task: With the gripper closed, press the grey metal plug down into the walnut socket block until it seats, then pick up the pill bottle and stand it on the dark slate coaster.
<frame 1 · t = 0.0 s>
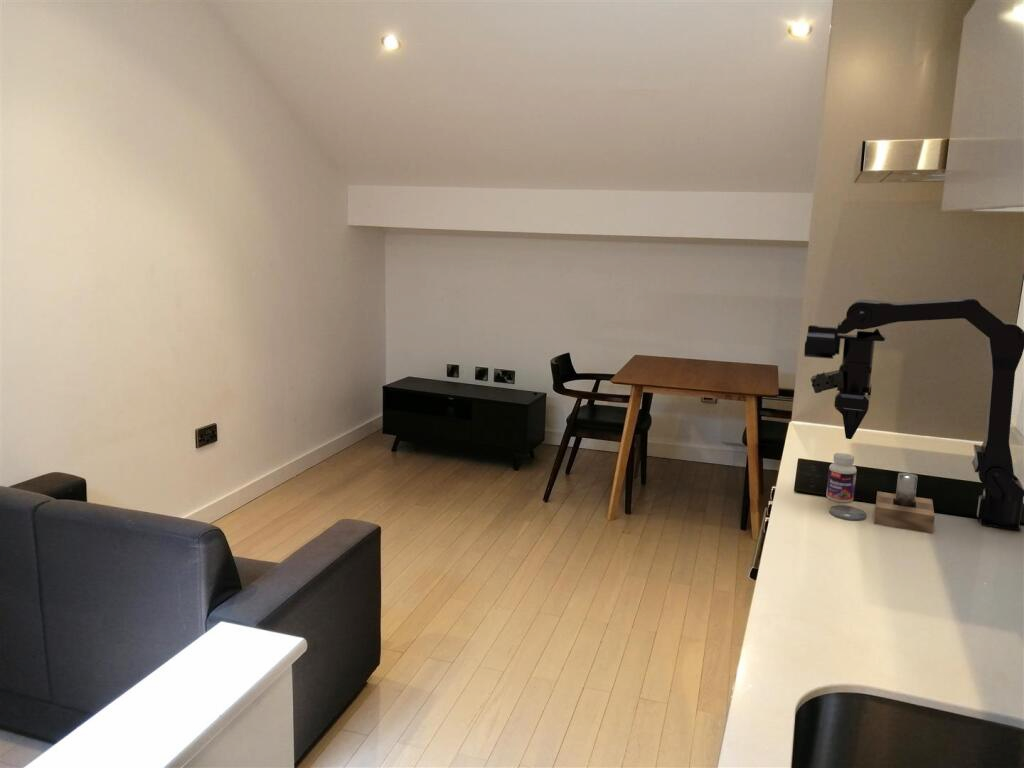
hand: (849, 433, 155), 15 cm above the counter, fingers open, 9 cm apart
plug: (906, 489, 146), point 6 cm above the counter, slide at 0.0 cm
pill bottle: (839, 499, 159), on the counter
socket block: (902, 519, 147), on the counter
coaster: (847, 514, 150), on the counter
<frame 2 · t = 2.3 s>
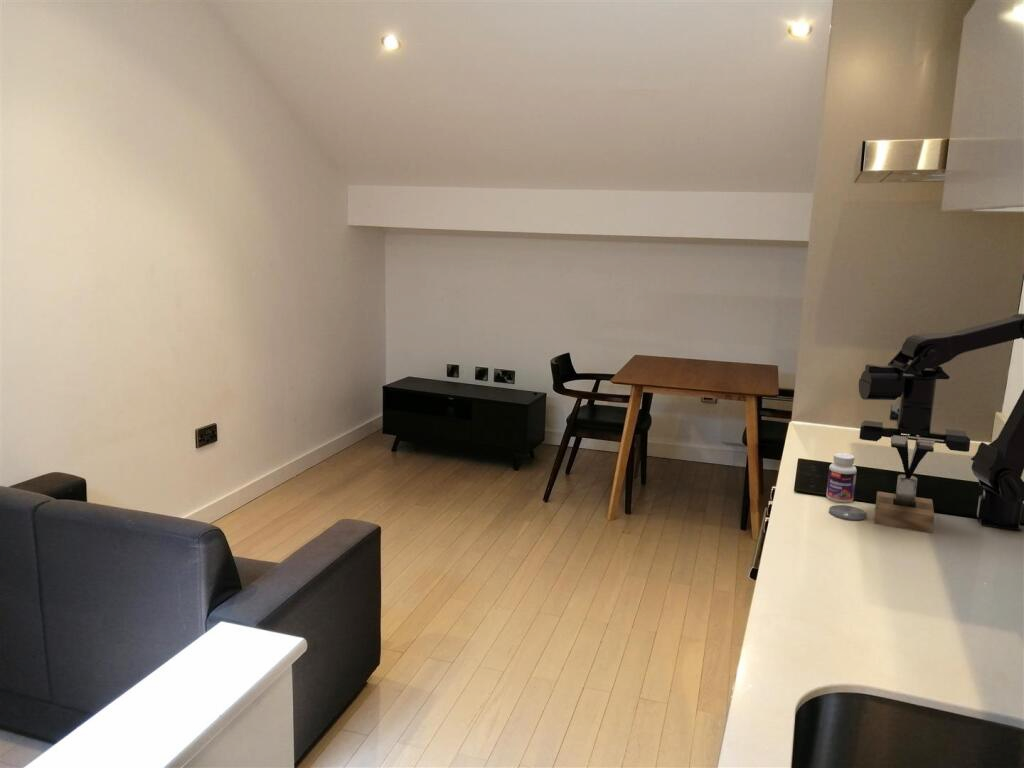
hand: (908, 477, 145), 9 cm above the counter, fingers closed, pressing on plug
plug: (905, 491, 146), point 6 cm above the counter, slide at 0.4 cm, touching gripper
everything else where it was.
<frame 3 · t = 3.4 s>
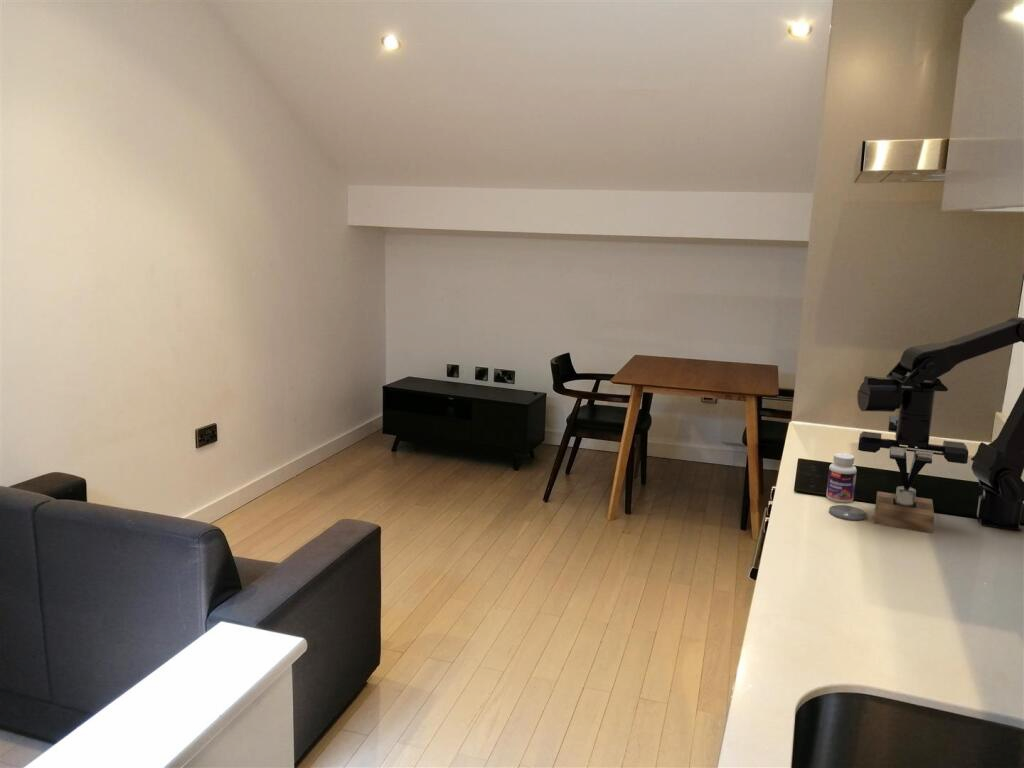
hand: (906, 488, 146), 7 cm above the counter, fingers closed
plug: (904, 503, 146), point 3 cm above the counter, slide at 2.9 cm
everything else where it was.
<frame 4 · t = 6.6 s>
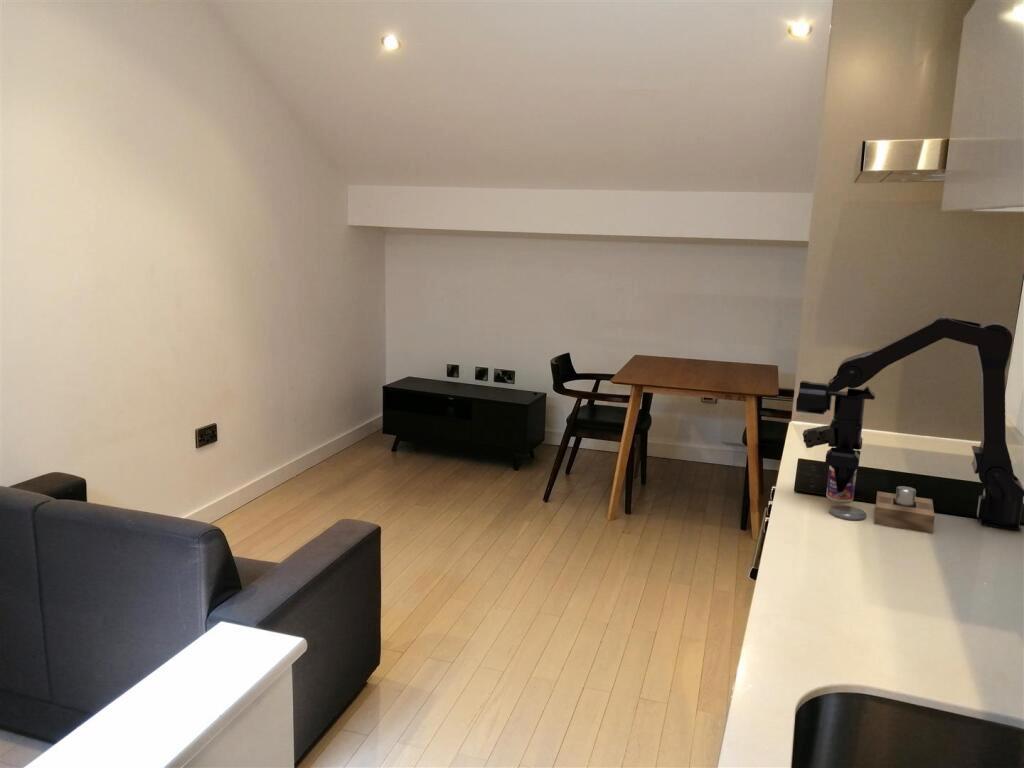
hand: (840, 487, 158), 3 cm above the counter, fingers closed on pill bottle, 5 cm apart
pill bottle: (839, 499, 159), on the counter, touching gripper
everything else where it was.
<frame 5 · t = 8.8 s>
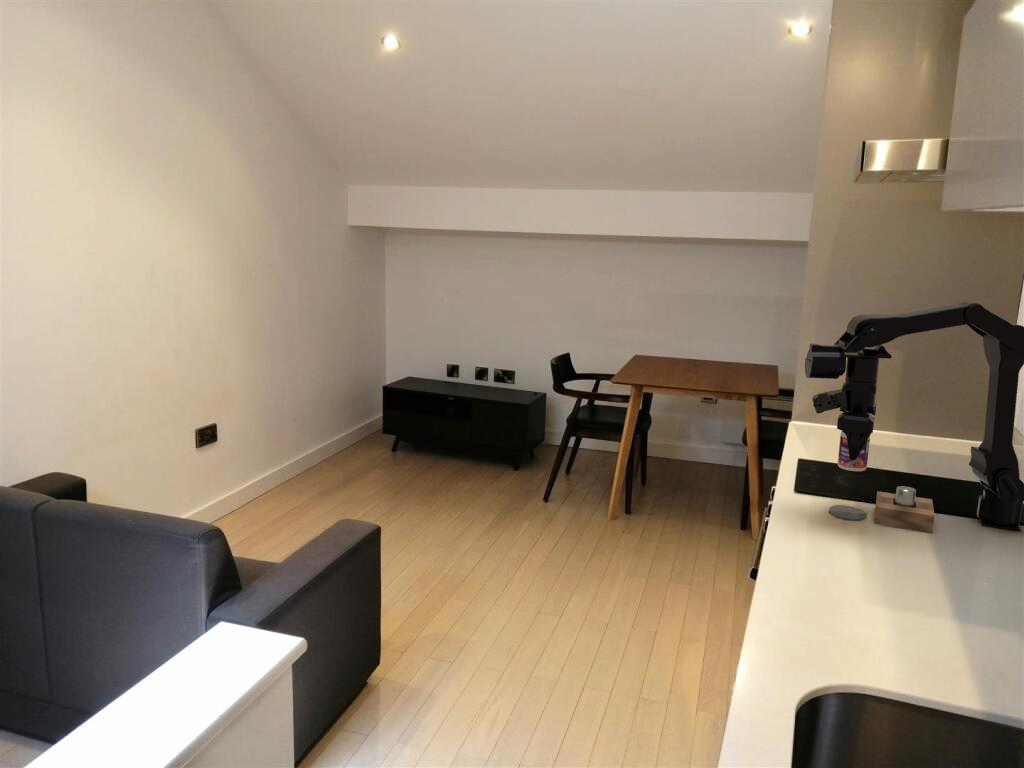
hand: (853, 455, 147), 12 cm above the counter, fingers closed on pill bottle, 5 cm apart
pill bottle: (851, 468, 148), point 10 cm above the counter, touching gripper
everything else where it was.
when the fingers open (4 cm above the counter, at t = 10.7 s): pill bottle stays where it is, resting on coaster.
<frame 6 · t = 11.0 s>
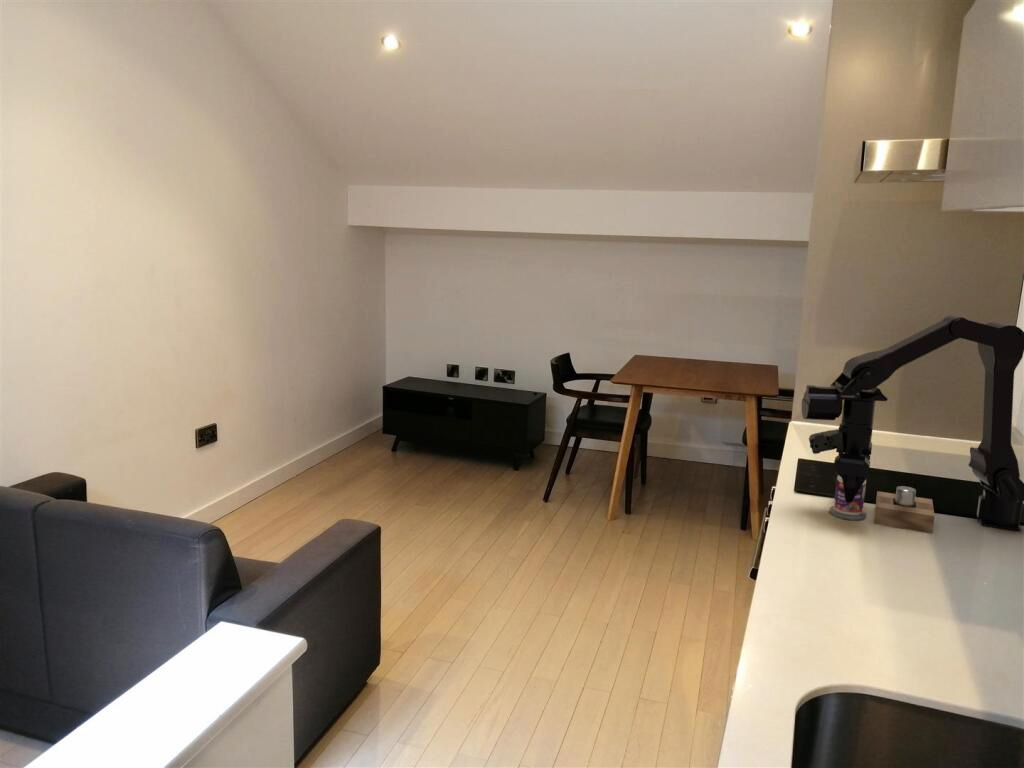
hand: (849, 495, 149), 4 cm above the counter, fingers open, 8 cm apart
pill bottle: (847, 512, 150), resting on coaster
everything else where it was.
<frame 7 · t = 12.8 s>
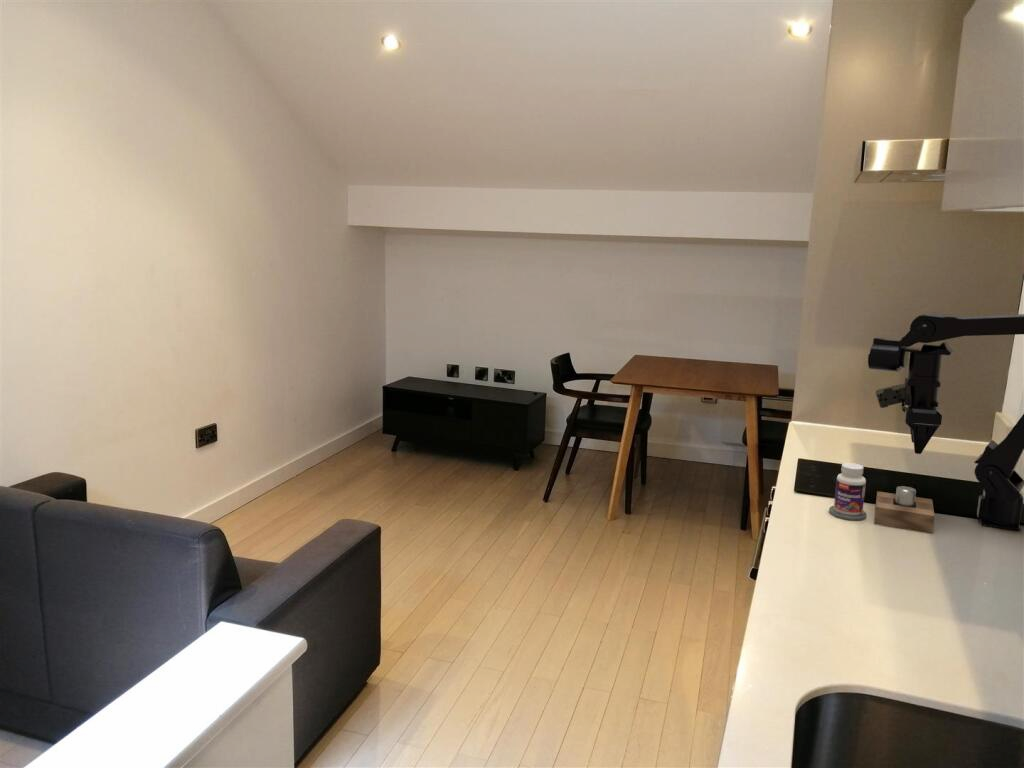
hand: (916, 447, 153), 12 cm above the counter, fingers open, 9 cm apart
nothing on the counter moved.
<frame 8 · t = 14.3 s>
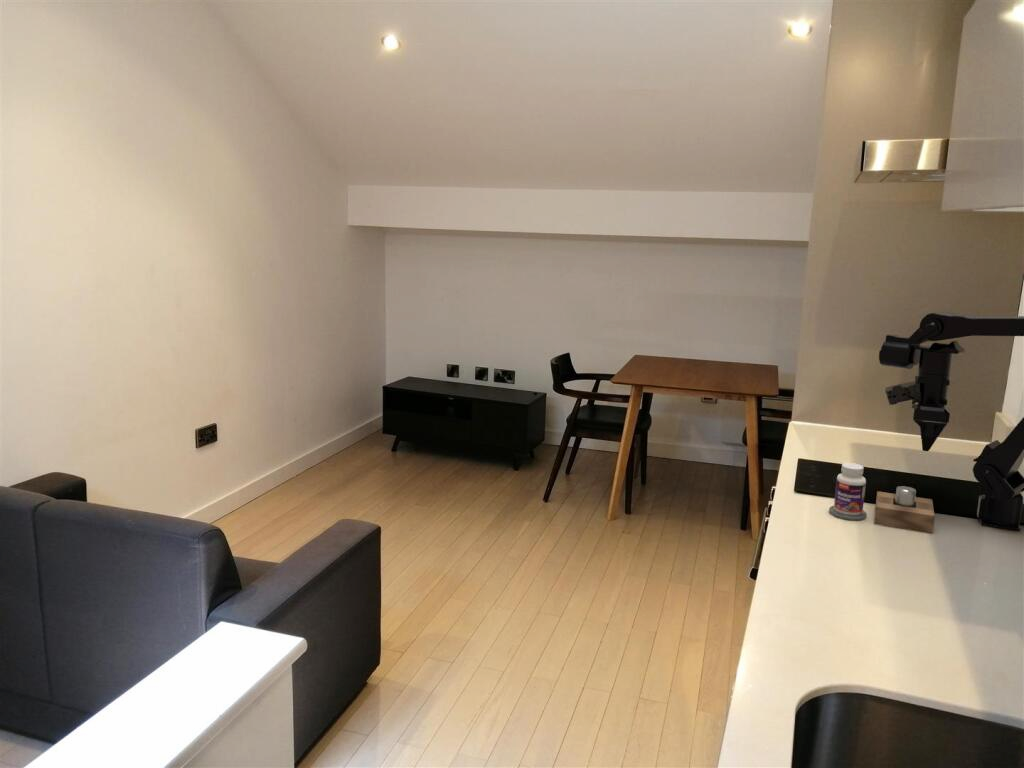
hand: (924, 445, 155), 13 cm above the counter, fingers open, 9 cm apart
nothing on the counter moved.
at the end: plug slide at 2.9 cm; pill bottle 0.0 cm from the coaster (horizontally); pill bottle tilted 0° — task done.
